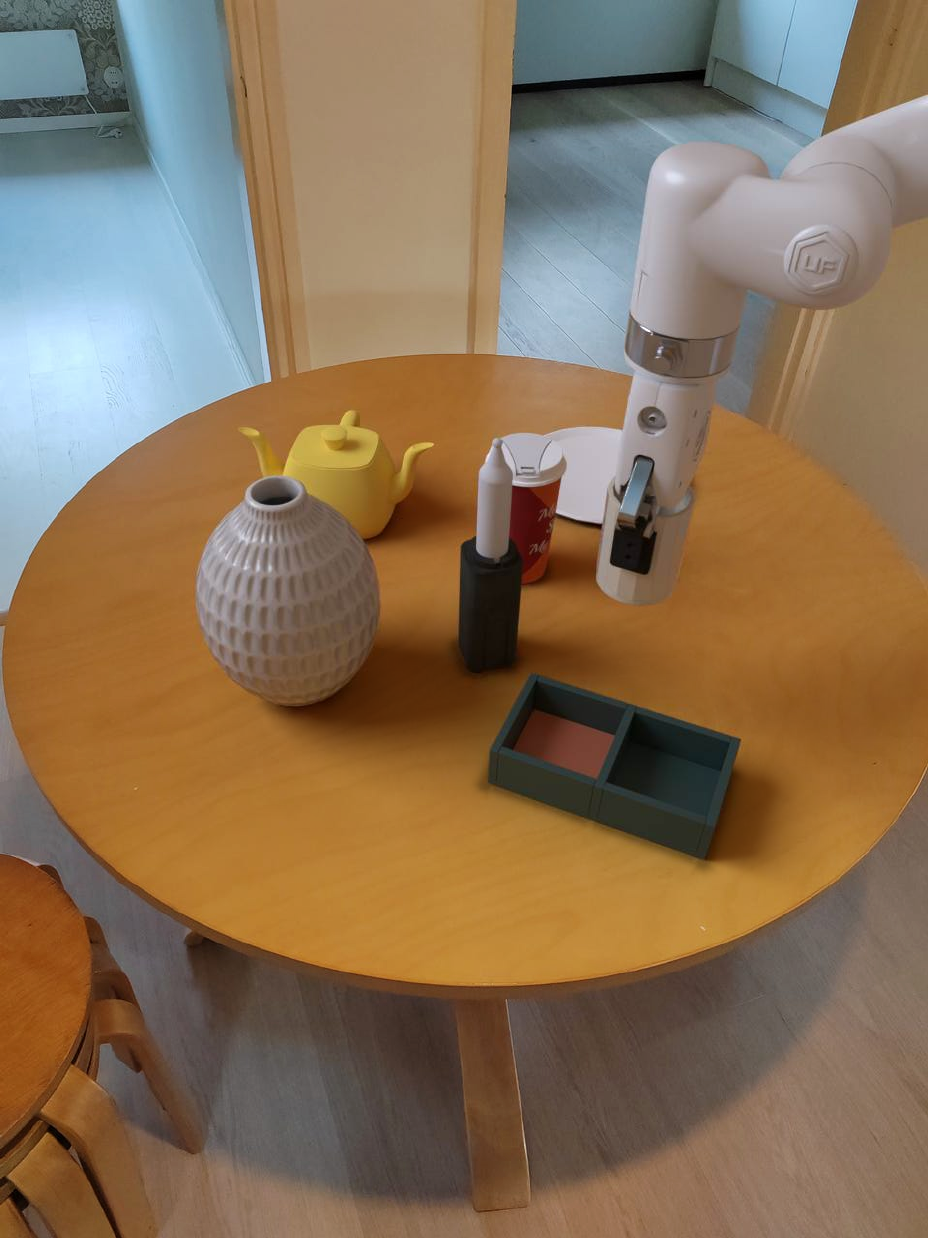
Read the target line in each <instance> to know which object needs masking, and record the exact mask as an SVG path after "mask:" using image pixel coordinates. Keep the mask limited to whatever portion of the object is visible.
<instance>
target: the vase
mask: <svg viewBox="0 0 928 1238" xmlns="http://www.w3.org/2000/svg"><path fill="white" fill-rule="evenodd" d="M364 540H365V539H362V537H361V536H360V534H359V533H358V531H357V530H356V528H355V527H354V526H353V525H352V524H351V522H350V521H349V520H348V519H347V518H346V517H345V516H344V515H343V514H341V513H340V512H339V511H338V510H336V509H335V508H334V507H332V506H331V505H329V504H328V503H326V502H324V501H322V500H321V499H319V498H317V497H315V496H313V495H311V494H309V493H307V491H306V488H305V486H304V485H303V484H302V483H301V482H300V481H299V480H297V479H294V478H291V477H288V476H269V477H265V478H264V477H262V478H259V479H258V480H255V481H254V482H253V483H251V484H250V485H249V486H248V487H247V488H246V490H245V492H244V499H242V501H240V502H239V503H238V504H237V505H236V506H235V507H233V509H232V510H230V511H229V512H228V513H227V514H226V515H225V516H224V517H223V518H222V519H221V521H220V522H219V523H218V524H217V526H216V527H215V528H213V531H212V533H211V534H210V536H209V538H208V539H207V542H206V544H205V546H204V548H203V551H202V553H201V557H200V561H199V562H198V563H199V564H198V566H197V572H196V580H195V590H194V591H195V594H194V595H195V606H196V607H195V609H196V612H197V618H198V623H199V626H200V631H201V634H202V636H203V638H204V641H205V643H206V646H207V647H208V649H209V652H210V654H211V656H212V657H213V659H214V660H215V661H216V663H217V664H218V666H219V667H220V668H221V670H223V672H224V673H225V675H227V677H228V678H229V679H231V680H232V681H233V682H234V683H235V684H236V685H238V686H239V687H240V688H242V689H244V690H245V691H246V692H248V693H249V694H251V695H253V696H255V697H256V698H258V699H261V700H263V701H266V702H268V703H271V704H275V705H278V706H284V707H302V706H308V705H313V704H316V703H318V702H322V701H324V700H327V699H328V698H331V697H332V696H333V695H334V694H336V693H338V692H339V691H340V690H341V689H342V688H343V687H344V686H346V685H347V684H348V683H349V682H350V681H351V680H352V679H353V677H354V676H355V675H356V674H358V671H359V670H360V669H361V668H362V666H363V665H364V664H365V662H366V661H367V659H368V657H369V655H370V653H371V650H372V648H373V645H374V643H375V640H376V637H377V634H378V630H379V625H380V618H381V608H382V605H381V588H380V582H379V576H378V571H377V567H376V565H375V562H374V559H373V557H372V554H371V552H370V550H369V547H368V545H367V543H366V541H364Z"/></svg>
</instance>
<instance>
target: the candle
mask: <svg viewBox="0 0 928 1238" xmlns="http://www.w3.org/2000/svg"><path fill="white" fill-rule="evenodd" d="M500 438H501V437H495V438H494V439H493V440H492V442H491V443H492V445H493V449H492V451H491V453H490V456H489V458H488V461H487V462H486V463H485V462H484V464H483V465H482V466H481V467H480V469H479V471H478V485H477V486H478V487H477V488H478V489H477V511H476V513H477V514H476V517H477V519H476V535H475V536H473V537H472V538H470V539H467V540H464V542H462V544H461V545H460V553H459V556H460V557H459V593H458V594H459V596H458V597H459V598H458V599H459V601H458V641H457V643H458V644H457V647H458V649H459V653H460V654H461V655H460V656H461V658H462V660H463V662H464V665H465V667H466V669H467V670H468V671H469V672H472V673H475V674H481V673H483V672H484V671H489V670H495V669H500V668H505V669H507V668H510V667H512V666H514V665H515V663H516V659H517V649H518V648H517V647H518V636H519V635H518V633H519V622H520V611H521V610H520V608H521V597H522V596H521V595H522V585H523V584H522V574H523V559H522V557H521V555H520V553H519V551H518V549H517V545H516V543H515V542H514V541H513V540H512V539H511V538H510V537H509V528H510V513H511V497H512V482H513V472H512V470H511V468H510V467H509V466H508V464H507V463H506V461H505V458H504V454H503V451H502V448H501V446H502V444H503V442H502V440H501V439H500Z"/></svg>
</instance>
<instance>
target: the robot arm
mask: <svg viewBox="0 0 928 1238" xmlns="http://www.w3.org/2000/svg"><path fill="white" fill-rule="evenodd" d="M646 185H647V186H646V190H645V191H646V192H645V200H644V207H643V214H642V219H641V220H642V221H641V227H640V228H641V229H640V236H639V242H638V250H637V256H636V264H635V269H634V270H635V272H634V277H633V285H632V290H631V299H630V305H629V312H628V319H627V326H626V333H625V339H624V346H623V360H624V361H625V363H626V365H628V367H629V368H630V369H631V370H633V376H632V379H631V384H630V388H629V395H628V396H627V405H626V410H625V414H624V419H623V425H622V429H621V430H622V436H621V441H620V448H619V454H618V460H617V467H616V476H615V490H616V492H617V493H618V495H619V496H622V495H623V498H622V502H621V506H620V510H619V513H618V517H617V521H616V524H615V529H614V536H613V542H612V549H611V555H610V564H611V565H612V566H615V567H618V568H622V569H625V570H628V571H632V572H635V573H639V574H642V575H647V574H648V572H649V570H650V568H651V562H652V557H653V552H654V547H655V542H656V537H657V532H655V531H653V530H654V527H655V523H656V520H657V516H658V512H659V509H660V506H662V507H667V509H672V508H674V507H676V506H677V505H678V504H679V503H680V501H681V500H682V498H683V496H684V494H685V492H686V490H687V488H688V486H689V484H690V485H691V483H692V481H693V478H694V476H695V475H696V473H697V471H698V468H699V466H700V464H701V462H702V460H703V457H704V455H705V452H706V448H707V444H708V438H709V432H710V426H711V420H712V414H713V409H714V405H715V404H714V403H715V398H716V392H717V388H718V387H717V386H718V381H719V380H720V379H722V378H724V376H726V375H727V374H728V373H729V371H730V370H731V366H732V361H733V359H734V353H735V349H736V343H737V340H738V334H739V331H740V327H741V322H742V319H743V312H744V309H745V304H746V299H747V294H748V291H750V292H753V293H755V294H759V295H761V296H763V297H766V298H769V299H772V300H774V301H777V302H780V303H783V304H786V305H788V306H789V305H790V306H793V307H795V308H801V309H806V310H812V311H829V310H836V309H839V308H843V307H846V306H848V305H851V304H853V303H855V302H856V301H858V300H860V299H861V298H862V297H864V296H866V294H867V293H869V292H870V290H871V289H872V288H874V286H875V285H876V284H877V282H878V281H879V280H880V278H881V276H882V275H883V274H884V271H885V268H886V267H887V264H888V260H889V258H890V253H891V247H892V236H893V229H896V228H898V227H901V226H904V225H908V224H911V223H914V222H917V221H920V220H924V219H927V218H928V94H925V95H923V96H920V97H917V98H914V99H911V100H909V101H906V102H904V103H901V104H898V105H895V106H892V107H890V108H887V109H885V110H883V111H880V112H877V113H875V114H873V115H869V116H867V117H865V118H862V119H859V120H857V121H854V122H851V123H849V124H847V125H845V126H842V127H839V128H837V129H835V130H833V131H830V132H828V133H826V134H824V135H822V136H820V137H819V138H817V139H815V140H813V141H812V142H811V143H809V144H808V145H806V146H805V147H803V148H802V149H801V150H800V151H798V152H797V154H795V156H794V157H793V158H792V159H791V160H790V161H789V162H788V163H787V165H786V166H785V168H784V169H783V171H782V173H781V175H780V176H779V179H775V178H773V177H772V175H771V173H770V169H769V167H768V165H767V163H766V162H765V160H764V159H763V158H762V157H761V156H759V154H757V153H755V152H753V151H751V150H749V149H746V148H744V147H741V146H739V145H734V144H730V143H725V142H717V141H692V142H684V143H680V144H676V145H672V146H671V147H669V148H666V150H664V151H662V152H660V154H659V155H658V156H657V158H656V159H655V160H654V162H653V164H652V165H651V168H650V171H649V175H648V181H647V184H646ZM648 486H650V487H653V489H654V493H655V495H652V494H648V493H646V492H647V489H648ZM643 503H646V504H650V505H651V507H650V511H649V514H648V518H647V520H646V519H645V517H644V516H640V515H641V507H642V504H643Z"/></svg>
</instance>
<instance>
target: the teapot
mask: <svg viewBox="0 0 928 1238" xmlns="http://www.w3.org/2000/svg"><path fill="white" fill-rule="evenodd" d="M237 429H238V432H240V434H242V435H243V436H245V437H246V438H247V439H248V440H249V441H250V442H251V443H252V445H253V447H254V448H255V451H256V454H257V456H258V462H259V466H260V471H261V474H262V478H265V477H269V476H288V477H291V478H294V479H297V480H299V481H300V482H301V483H302V484H303V485H304V486H305V488H306V491H307V493H309V494H311V495H313V496H315V497H317V498H319V499H321V500H322V501H324V502H326V503H328V504H329V505H331V506H332V507H334V508H335V509H336V510H338V511H339V512H340V513H341V514H343V515H344V516H345V517H346V518H347V519H348V520H349V521H350V522H351V524H352V525H353V526H354V527H355V528H356V530H357V531H358V533H359V534H360V536H361V537H362V539H363V540H368V539H372V538H375V537H377V536H379V535H380V534H381V533H382V532H383V531H384V529H385V528H386V526H387V525H388V523H389V521H390V519H391V518H392V515H393V513H394V511H395V509H396V505H397V504H398V503H400V502H402V501H403V500H404V499H405V498H407V497H408V496H409V494H410V492H411V490H412V488H413V486H414V482H415V476H416V467H417V463H418V460H419V458H420V456H421V455H422V454H423V453H425V452H426V451H428V450H429V449H431V448H433V447H434V445H435V444H434V443H433V442H427V441H426V442H419V443H416V444H413V445H411V446H410V447H409V448H408V449H406V452H405V453H404V456H403V460H402V466H401V468H400V470H399V471H397V470H396V467H395V464H394V460H393V457H392V456H391V454H390V451H389V449H388V447H387V446H386V444H385V442H384V441H383V439H382V437H381V436H380V434H378V433H377V432H375V431H373V430H370V429H368V428H364V427H361V416H360V414H359V412H358V411H357V410H354V409H353V410H352V409H351V410H348V411H346V412H345V413H344V414H343V416H342V418H341V420H340V423H339V424H317V425H310V426H307V427H305V428H303V429H302V430H301V431H300V432H299V434H298V435H297V437H296V438H295V440H294V443H293V445H292V447H291V448H290V451H289V454H288V455H287V459H286V462H285V463H284V462H282V461H281V460H280V459H279V458H278V457H277V456H276V455H275V453H274V451H273V449H272V446H271V444H270V442H269V440H268V439H267V438H266V436H265V435H264V434H263V433H262V432H260V431H259V430H257V429H254V428H251V427H247V426H239V427H238V428H237Z"/></svg>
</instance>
